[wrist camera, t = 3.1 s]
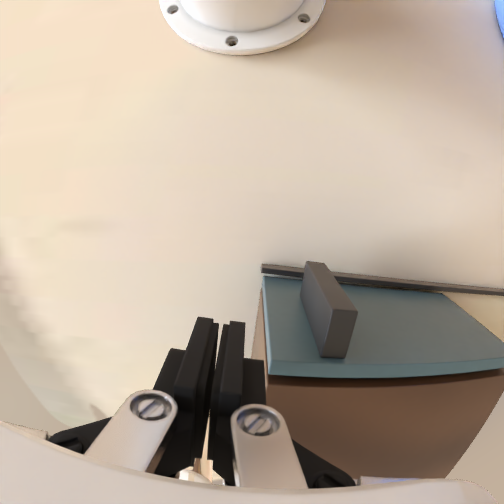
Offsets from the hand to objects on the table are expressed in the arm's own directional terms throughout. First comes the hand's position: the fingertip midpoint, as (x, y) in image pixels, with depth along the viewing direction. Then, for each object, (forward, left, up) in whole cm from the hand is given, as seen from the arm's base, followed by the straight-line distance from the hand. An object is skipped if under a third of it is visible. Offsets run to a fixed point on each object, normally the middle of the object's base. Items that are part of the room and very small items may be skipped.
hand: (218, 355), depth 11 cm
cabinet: (+7, +16, -13) cm, 22 cm away
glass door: (0, +10, -12) cm, 16 cm away
